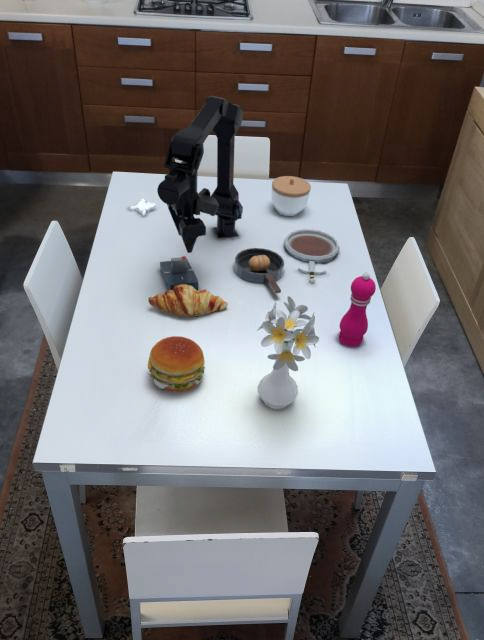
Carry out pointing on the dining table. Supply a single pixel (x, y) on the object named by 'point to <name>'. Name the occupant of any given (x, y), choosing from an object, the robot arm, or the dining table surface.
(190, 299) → the croissant
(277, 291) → the egg pan handle
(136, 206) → the acanthus leaf ornament
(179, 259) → the hob knob
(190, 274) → the hob control
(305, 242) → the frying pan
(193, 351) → the burger
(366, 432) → the dining table surface
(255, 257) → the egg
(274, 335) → the flower vase
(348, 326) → the pepper mill
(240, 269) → the egg pan
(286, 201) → the lidded bowl
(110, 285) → the dining table surface
